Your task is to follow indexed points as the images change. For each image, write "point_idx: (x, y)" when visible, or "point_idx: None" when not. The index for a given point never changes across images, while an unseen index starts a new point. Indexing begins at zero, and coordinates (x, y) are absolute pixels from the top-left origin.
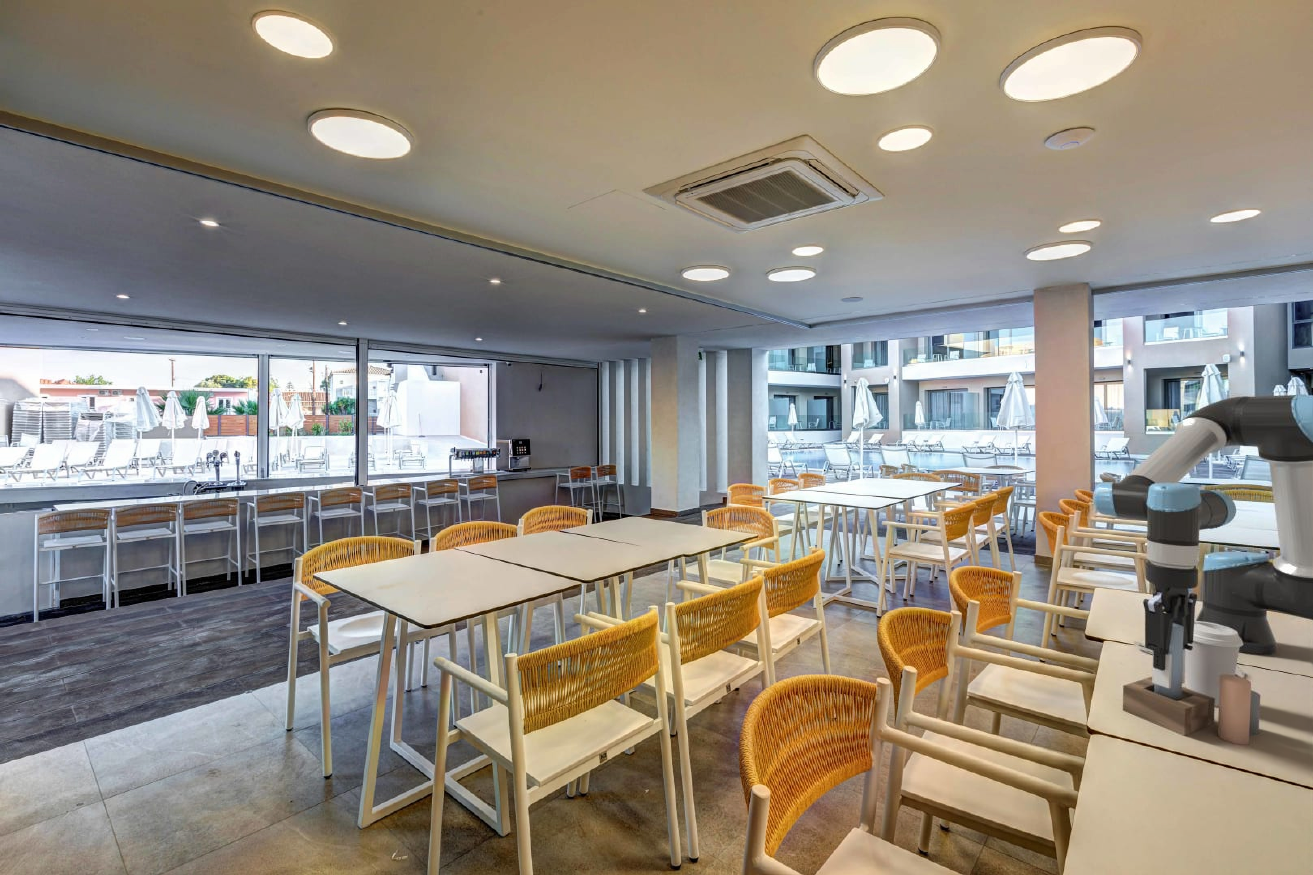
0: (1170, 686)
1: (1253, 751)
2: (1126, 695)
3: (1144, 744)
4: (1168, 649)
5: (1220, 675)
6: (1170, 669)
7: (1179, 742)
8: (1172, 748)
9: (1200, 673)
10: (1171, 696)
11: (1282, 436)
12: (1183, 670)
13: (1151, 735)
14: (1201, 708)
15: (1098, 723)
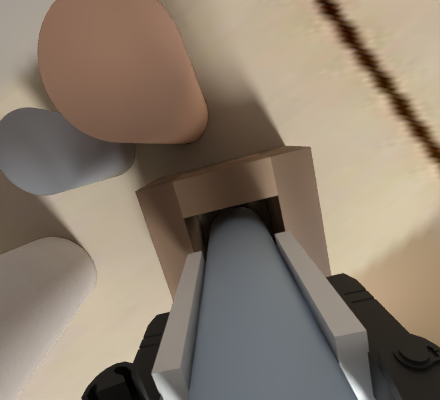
0: (278, 235)
1: (194, 55)
2: None
3: (419, 129)
4: (406, 375)
5: (151, 131)
6: (304, 270)
7: (328, 122)
8: (374, 102)
9: (44, 310)
10: (261, 224)
11: None
12: (191, 280)
13: (360, 160)
14: (213, 169)
15: (423, 225)
